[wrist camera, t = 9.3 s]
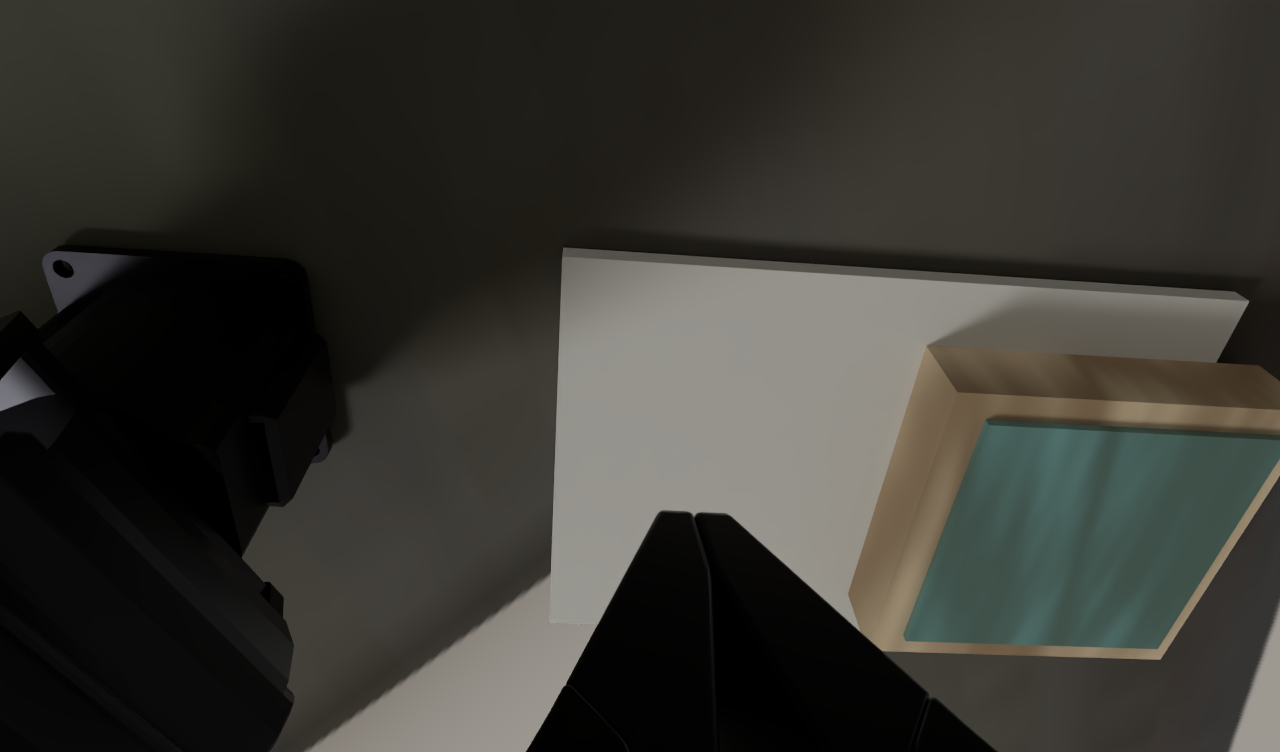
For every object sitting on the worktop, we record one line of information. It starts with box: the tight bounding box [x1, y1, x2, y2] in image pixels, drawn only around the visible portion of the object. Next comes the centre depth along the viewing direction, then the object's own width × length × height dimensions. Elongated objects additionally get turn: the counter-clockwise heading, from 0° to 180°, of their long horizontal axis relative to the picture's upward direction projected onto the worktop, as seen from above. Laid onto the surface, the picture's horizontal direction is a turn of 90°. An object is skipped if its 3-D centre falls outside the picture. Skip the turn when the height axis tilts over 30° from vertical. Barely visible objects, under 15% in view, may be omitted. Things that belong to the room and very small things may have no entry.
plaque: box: [848, 346, 1280, 660], centre depth 24 cm, size 3×10×10 cm
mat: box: [549, 247, 1249, 631], centre depth 25 cm, size 19×14×1 cm
